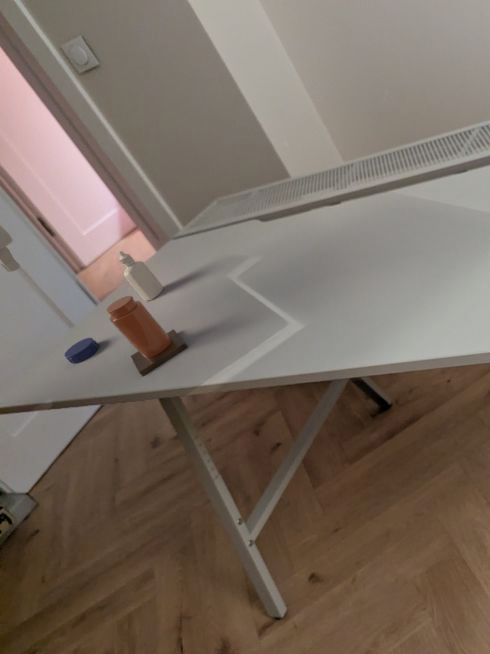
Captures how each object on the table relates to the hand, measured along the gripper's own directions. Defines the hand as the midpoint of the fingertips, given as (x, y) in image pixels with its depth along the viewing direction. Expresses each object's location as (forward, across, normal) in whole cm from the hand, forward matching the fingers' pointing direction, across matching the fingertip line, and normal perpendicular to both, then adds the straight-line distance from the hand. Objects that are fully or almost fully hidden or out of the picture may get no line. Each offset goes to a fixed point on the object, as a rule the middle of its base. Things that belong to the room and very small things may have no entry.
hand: (3, 270), depth 101 cm
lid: (+20, 0, 0) cm, 20 cm away
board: (+21, -25, -2) cm, 33 cm away
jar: (+20, -24, -2) cm, 32 cm away
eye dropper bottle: (+21, +2, -20) cm, 30 cm away
